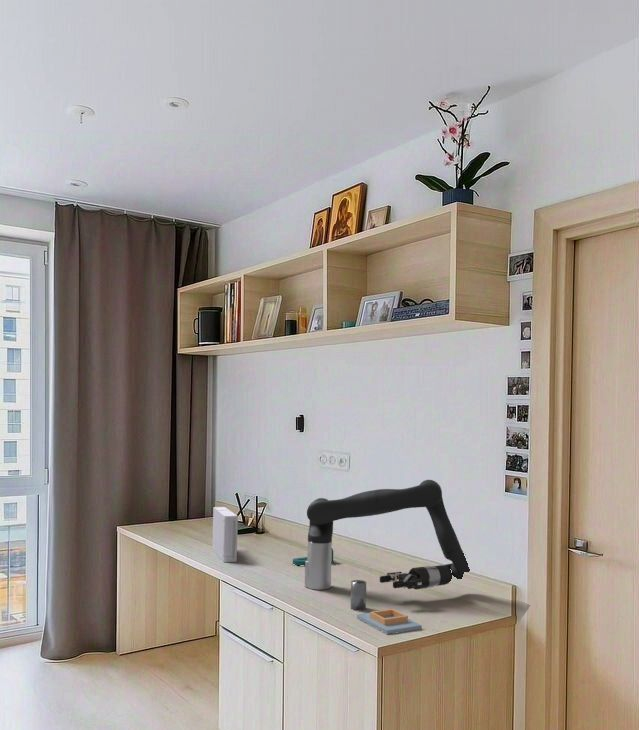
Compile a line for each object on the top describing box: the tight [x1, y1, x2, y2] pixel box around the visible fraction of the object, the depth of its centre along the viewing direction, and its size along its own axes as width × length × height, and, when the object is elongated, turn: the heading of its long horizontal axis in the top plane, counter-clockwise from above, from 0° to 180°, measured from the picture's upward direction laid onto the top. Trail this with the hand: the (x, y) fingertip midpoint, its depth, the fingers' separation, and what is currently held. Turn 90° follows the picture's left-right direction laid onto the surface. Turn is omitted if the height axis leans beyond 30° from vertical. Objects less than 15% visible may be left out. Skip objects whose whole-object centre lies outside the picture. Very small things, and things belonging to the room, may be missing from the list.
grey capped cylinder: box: [350, 579, 367, 611], centre depth 251 cm, size 5×5×9 cm
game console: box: [211, 506, 239, 563], centre depth 330 cm, size 6×27×20 cm, turn 19°
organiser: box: [356, 608, 423, 635], centre depth 235 cm, size 18×13×3 cm
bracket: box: [292, 548, 334, 566], centre depth 319 cm, size 18×7×8 cm, turn 121°
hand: (386, 582), depth 256 cm, fingers open, 8 cm apart
